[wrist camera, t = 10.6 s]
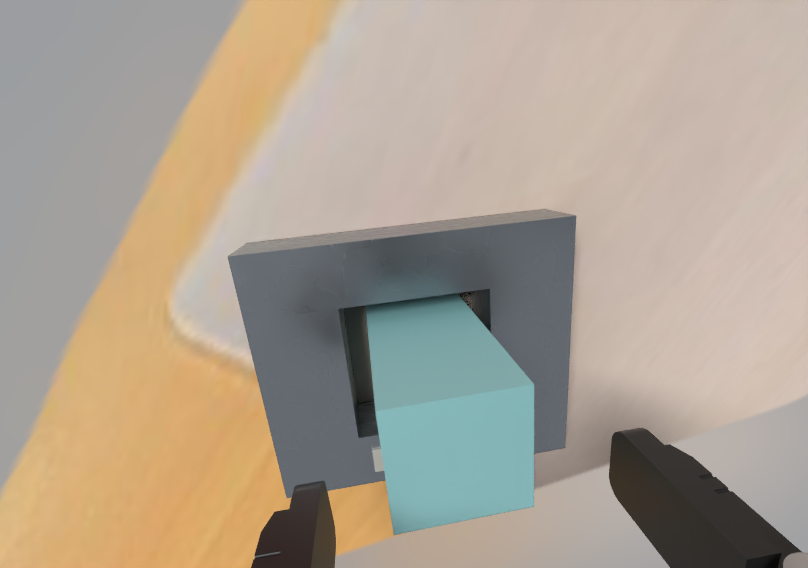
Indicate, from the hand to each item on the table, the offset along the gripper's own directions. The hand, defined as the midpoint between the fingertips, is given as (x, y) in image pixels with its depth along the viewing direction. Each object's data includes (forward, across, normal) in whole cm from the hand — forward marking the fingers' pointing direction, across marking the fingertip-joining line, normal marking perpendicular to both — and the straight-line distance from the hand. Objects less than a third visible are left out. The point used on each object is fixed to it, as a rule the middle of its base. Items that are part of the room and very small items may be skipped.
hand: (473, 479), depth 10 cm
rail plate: (+8, +1, 0) cm, 8 cm away
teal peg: (+8, 0, 0) cm, 8 cm away
